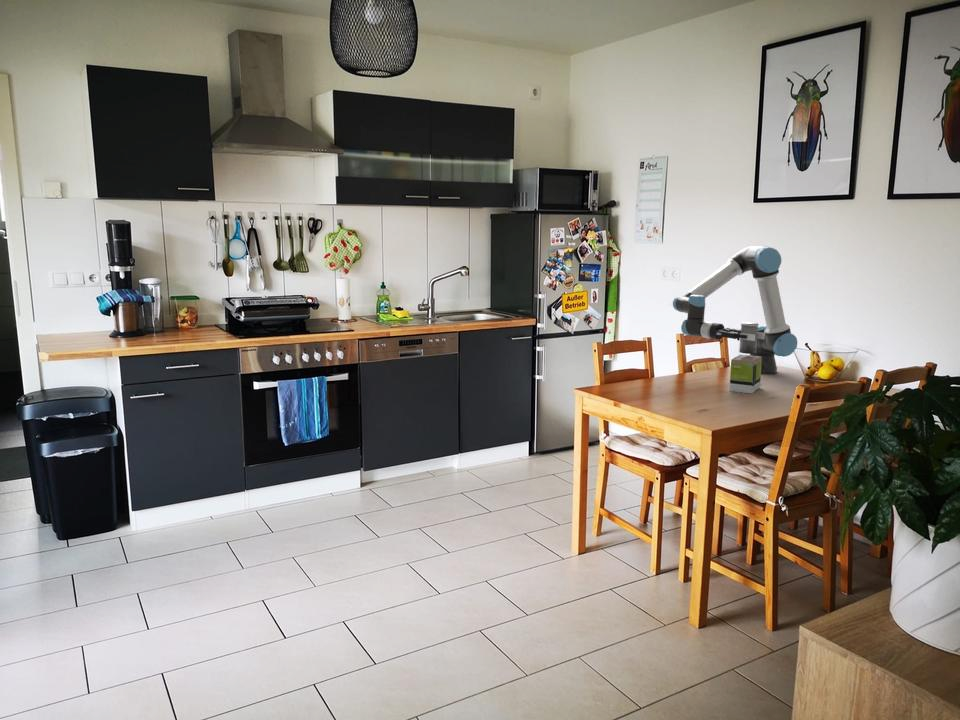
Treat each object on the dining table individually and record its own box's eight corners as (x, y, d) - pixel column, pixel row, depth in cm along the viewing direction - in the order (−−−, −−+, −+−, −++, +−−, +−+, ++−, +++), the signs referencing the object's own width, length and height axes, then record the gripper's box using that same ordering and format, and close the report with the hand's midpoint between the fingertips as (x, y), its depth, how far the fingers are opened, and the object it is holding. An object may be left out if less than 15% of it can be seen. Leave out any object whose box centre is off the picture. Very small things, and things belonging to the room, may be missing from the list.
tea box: (737, 385, 331) (740, 353, 328) (760, 388, 326) (763, 356, 323) (728, 391, 319) (731, 358, 316) (752, 394, 313) (754, 361, 311)
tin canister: (746, 350, 324) (748, 321, 322) (759, 353, 318) (762, 323, 315) (735, 351, 320) (737, 322, 318) (748, 354, 314) (750, 324, 312)
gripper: (724, 337, 338) (770, 343, 321) (700, 340, 326) (746, 347, 308) (725, 321, 337) (771, 326, 320) (701, 324, 324) (747, 330, 307)
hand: (759, 337), depth 314 cm, fingers closed on tin canister, 7 cm apart
